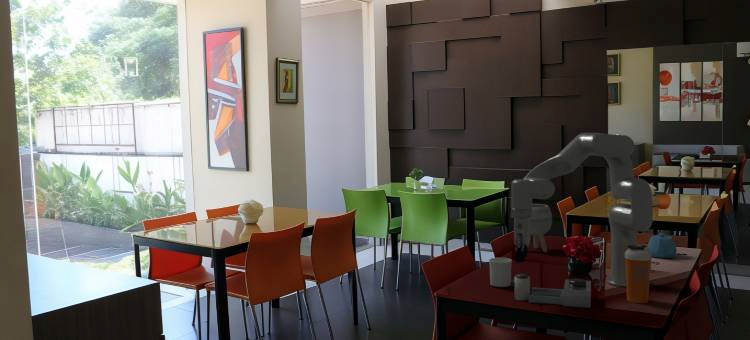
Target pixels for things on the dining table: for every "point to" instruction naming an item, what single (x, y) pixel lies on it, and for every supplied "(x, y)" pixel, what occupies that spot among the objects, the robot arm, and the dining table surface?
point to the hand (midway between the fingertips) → (521, 259)
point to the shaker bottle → (637, 273)
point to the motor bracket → (564, 294)
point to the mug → (500, 272)
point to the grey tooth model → (540, 224)
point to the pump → (521, 287)
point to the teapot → (662, 246)
